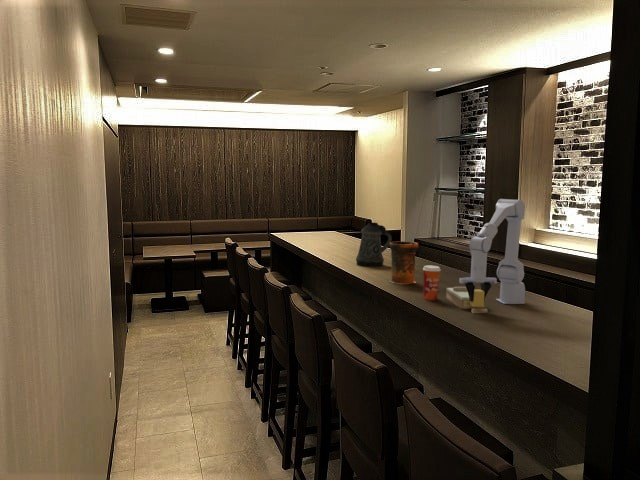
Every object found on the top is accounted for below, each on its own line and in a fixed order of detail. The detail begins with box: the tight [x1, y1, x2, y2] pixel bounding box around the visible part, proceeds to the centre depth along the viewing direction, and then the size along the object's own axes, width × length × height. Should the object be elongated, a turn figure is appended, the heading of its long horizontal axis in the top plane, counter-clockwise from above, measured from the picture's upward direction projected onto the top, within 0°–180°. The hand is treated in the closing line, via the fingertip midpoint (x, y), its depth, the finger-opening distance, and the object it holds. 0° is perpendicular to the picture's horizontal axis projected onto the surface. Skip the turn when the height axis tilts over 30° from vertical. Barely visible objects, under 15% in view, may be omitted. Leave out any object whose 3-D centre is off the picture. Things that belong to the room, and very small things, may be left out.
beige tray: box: [445, 290, 488, 314], centre depth 217 cm, size 10×25×4 cm, turn 6°
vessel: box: [388, 241, 419, 285], centre depth 262 cm, size 14×14×20 cm
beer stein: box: [355, 222, 392, 268], centre depth 313 cm, size 16×19×25 cm
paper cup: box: [422, 265, 442, 301], centre depth 228 cm, size 8×8×14 cm
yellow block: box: [470, 288, 484, 307], centre depth 208 cm, size 4×4×6 cm
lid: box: [446, 286, 487, 300], centre depth 220 cm, size 10×18×3 cm, turn 6°
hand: (476, 301), depth 209 cm, fingers closed on yellow block, 4 cm apart
